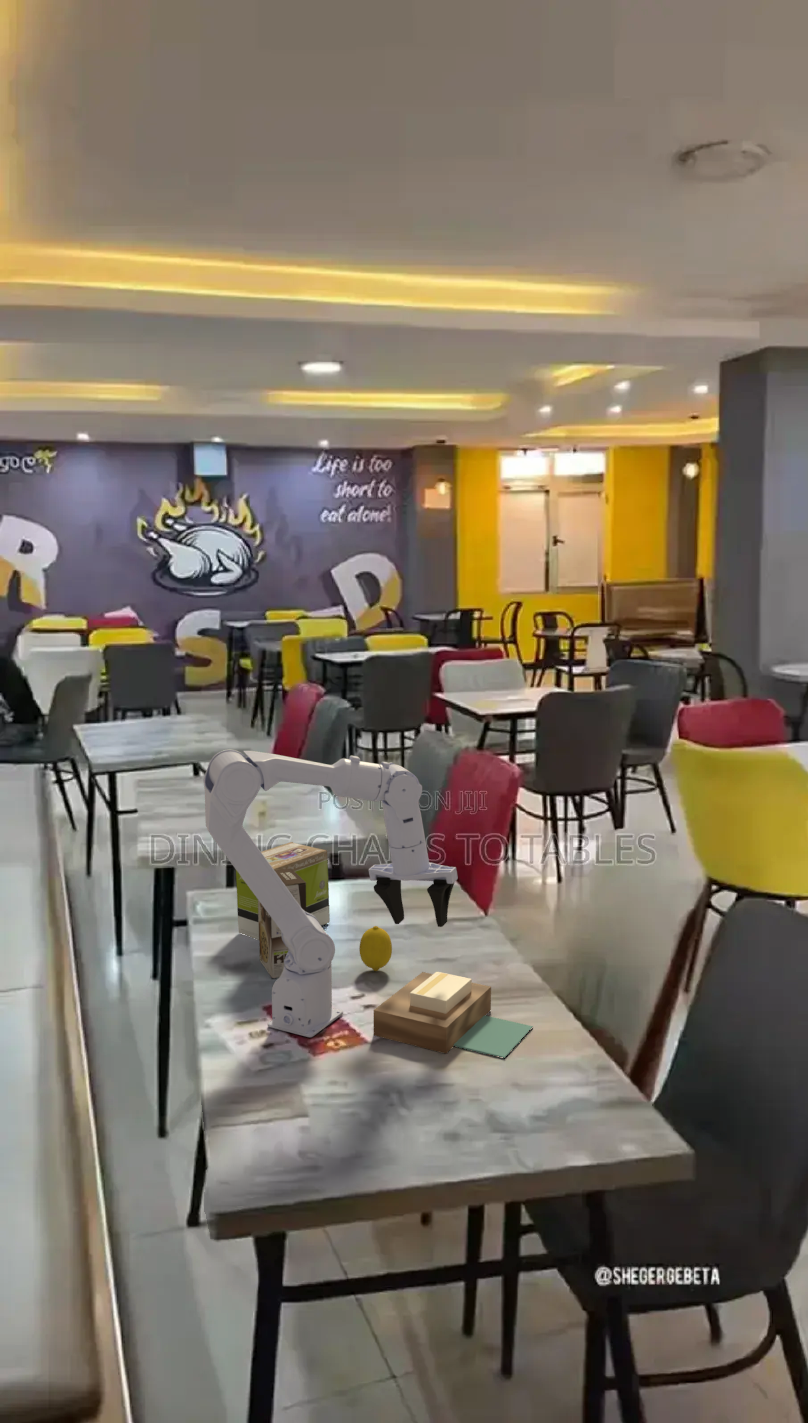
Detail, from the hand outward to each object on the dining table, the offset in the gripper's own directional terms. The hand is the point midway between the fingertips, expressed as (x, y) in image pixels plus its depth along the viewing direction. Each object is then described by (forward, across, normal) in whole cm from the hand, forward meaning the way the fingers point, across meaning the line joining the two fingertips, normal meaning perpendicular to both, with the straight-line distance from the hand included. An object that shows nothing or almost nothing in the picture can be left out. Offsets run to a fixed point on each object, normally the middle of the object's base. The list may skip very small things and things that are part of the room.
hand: (420, 922), depth 169 cm
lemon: (+13, +14, -6) cm, 20 cm away
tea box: (+11, +39, -16) cm, 43 cm away
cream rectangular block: (+9, -5, +6) cm, 12 cm away
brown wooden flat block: (+13, -3, +7) cm, 15 cm away
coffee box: (+10, +29, 0) cm, 31 cm away
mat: (+14, -13, +7) cm, 21 cm away
